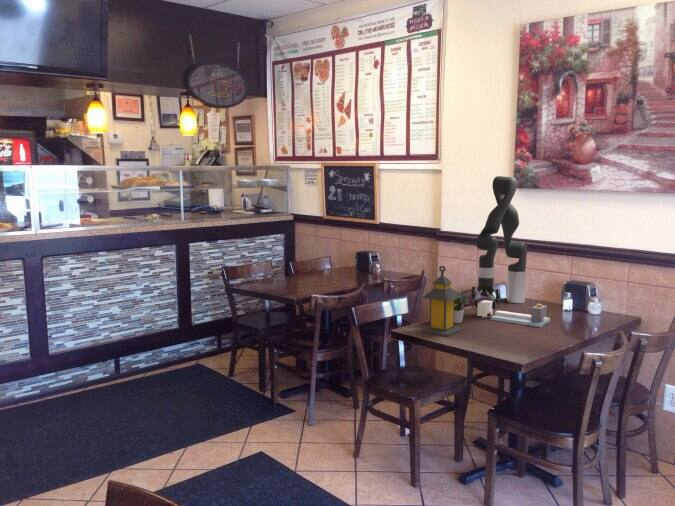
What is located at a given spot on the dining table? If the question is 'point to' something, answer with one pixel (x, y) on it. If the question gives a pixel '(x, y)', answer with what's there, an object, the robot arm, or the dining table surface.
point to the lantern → (442, 307)
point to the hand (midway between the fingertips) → (485, 308)
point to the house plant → (457, 310)
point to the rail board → (518, 321)
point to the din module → (485, 308)
